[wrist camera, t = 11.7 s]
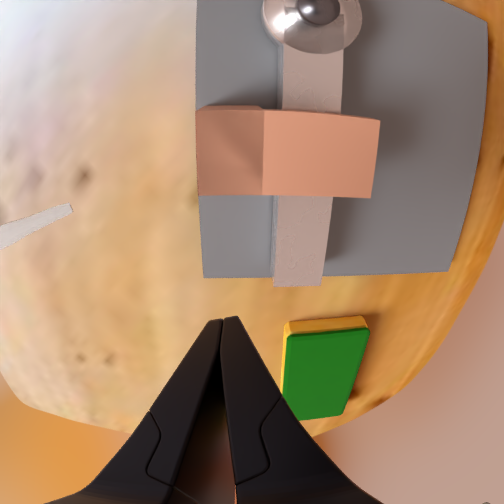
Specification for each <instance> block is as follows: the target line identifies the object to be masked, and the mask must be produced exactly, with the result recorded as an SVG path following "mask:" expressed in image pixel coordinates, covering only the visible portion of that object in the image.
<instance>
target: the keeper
mask: <svg viewBox="0 0 504 504" xmlns="http://www.w3.org/2000/svg"><path fill="white" fill-rule="evenodd" d="M195 120H196V158H197V184H198V196H212V195H287V196H327V197H353V198H371V192H372V185H373V179H374V171H375V164H376V156H377V148H378V139H379V130H380V120H377V119H374V118H368V117H361V116H353V115H344V114H334V113H324V112H312V111H297V110H277V109H262V108H261V107H259V106H256V105H220V106H204V107H202V108H200V109H198V110H196V111H195Z"/></svg>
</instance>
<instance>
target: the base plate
mask: <svg viewBox="0 0 504 504" xmlns="http://www.w3.org/2000/svg"><path fill="white" fill-rule="evenodd" d="M263 1H264V0H197V20H196V110H198V109H200V108H202V107H204V106H220V105H256V106H259V107H261V108H262V109H277V81H278V47H277V46H276V45H274V44H273V43H272V42H271V41H270V39H269V38H268V37H267V35H266V34H265V32H264V30H263V27H262V24H261V17H260V14H261V8H262V4H263ZM358 1H359V4H360V7H361V11H362V25H361V29H360V31H359V34H358V35H357V37H356V38H355V40H354V41H353V42H352V43H351V44H350V45H349V46H347V47H345V48H344V49H343V78H342V98H341V114H344V115H353V116H361V117H368V118H374V119H377V120H380V130H379V139H378V148H377V156H376V164H375V171H374V179H373V185H372V192H371V198H353V197H333V201H332V210H331V218H330V226H329V233H328V240H327V248H326V254H325V261H324V268H323V274H322V276H353V275H382V274H407V273H429V272H448V270H449V268H450V265H451V262H452V259H453V256H454V253H455V250H456V246H457V243H458V240H459V237H460V233H461V230H462V226H463V223H464V219H465V216H466V212H467V208H468V204H469V200H470V196H471V191H472V187H473V182H474V178H475V173H476V168H477V162H478V157H479V151H480V145H481V138H482V131H483V123H484V114H485V104H486V91H487V72H488V32H487V22H485V21H483V20H482V19H480V18H478V17H476V16H474V15H472V14H470V13H468V12H466V11H464V10H462V9H459V8H457V7H455V6H453V5H451V4H448V3H446V2H444V1H441V0H358ZM273 198H274V195H212V196H199V214H200V232H201V247H202V262H203V275H204V278H265V277H272V275H271V269H270V262H271V242H272V221H273Z"/></svg>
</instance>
